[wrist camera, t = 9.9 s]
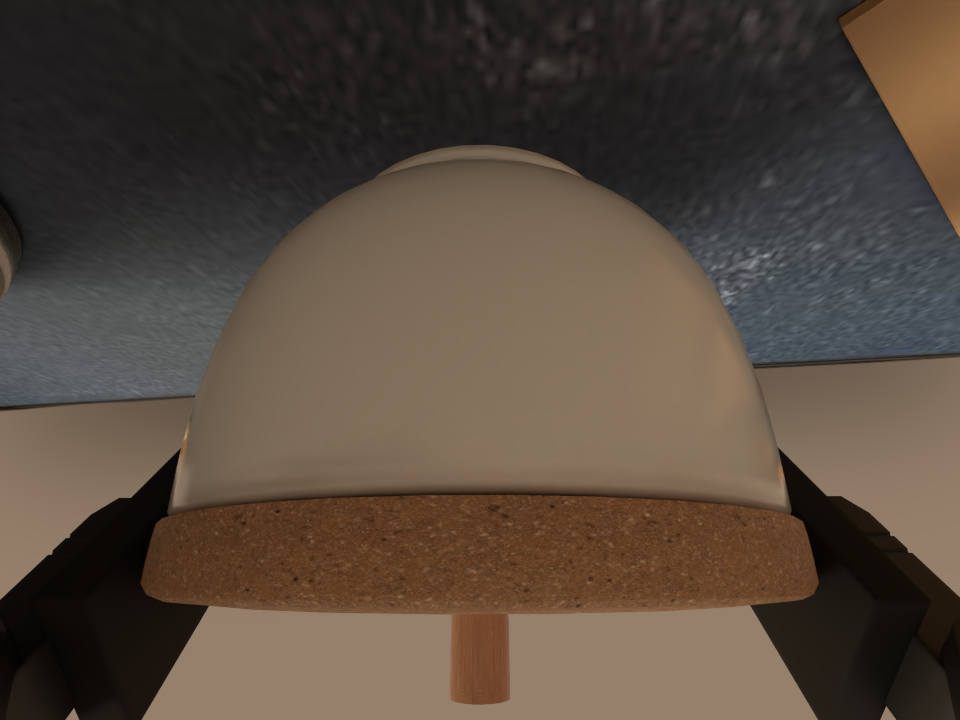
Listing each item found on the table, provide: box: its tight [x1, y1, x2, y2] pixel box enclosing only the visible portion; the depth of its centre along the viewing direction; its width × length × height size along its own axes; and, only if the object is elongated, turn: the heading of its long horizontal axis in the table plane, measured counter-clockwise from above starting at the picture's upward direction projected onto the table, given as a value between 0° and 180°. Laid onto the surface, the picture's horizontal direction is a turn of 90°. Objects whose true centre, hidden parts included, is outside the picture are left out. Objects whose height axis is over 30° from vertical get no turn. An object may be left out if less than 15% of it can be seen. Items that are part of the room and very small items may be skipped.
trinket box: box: [141, 145, 819, 705], centre depth 11 cm, size 11×11×9 cm
